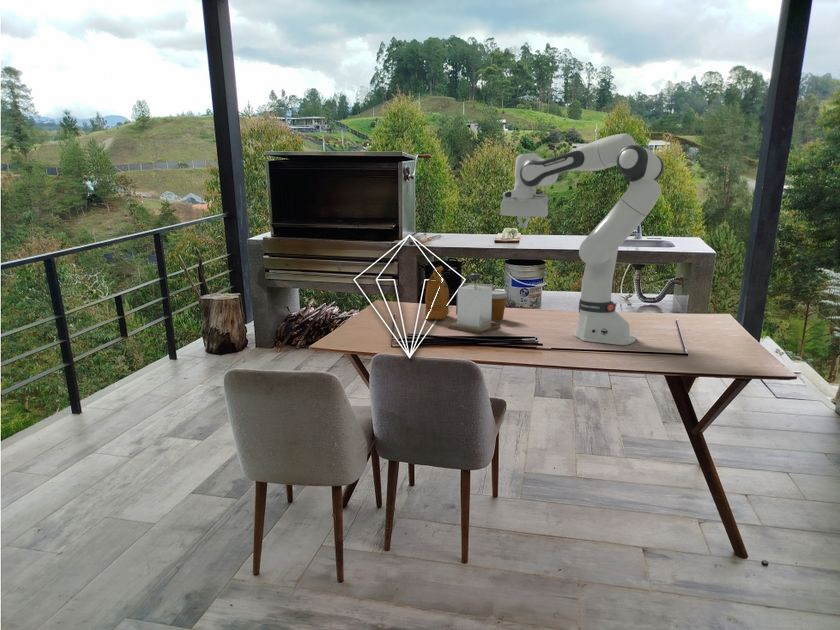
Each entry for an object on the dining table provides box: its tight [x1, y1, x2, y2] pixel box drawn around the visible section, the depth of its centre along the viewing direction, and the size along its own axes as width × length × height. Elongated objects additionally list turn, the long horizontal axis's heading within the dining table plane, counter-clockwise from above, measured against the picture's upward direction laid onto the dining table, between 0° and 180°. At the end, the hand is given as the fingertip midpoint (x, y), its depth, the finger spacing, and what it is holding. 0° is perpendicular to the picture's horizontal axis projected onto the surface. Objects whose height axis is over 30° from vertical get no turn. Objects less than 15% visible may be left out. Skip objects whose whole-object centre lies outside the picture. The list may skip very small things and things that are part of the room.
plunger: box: [469, 272, 482, 288], centre depth 241 cm, size 8×8×18 cm
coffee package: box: [424, 265, 450, 321], centre depth 259 cm, size 10×12×22 cm
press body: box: [447, 284, 501, 335], centre depth 242 cm, size 16×14×16 cm
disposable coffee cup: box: [491, 289, 508, 322], centre depth 257 cm, size 10×10×12 cm
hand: (523, 227), depth 251 cm, fingers closed
